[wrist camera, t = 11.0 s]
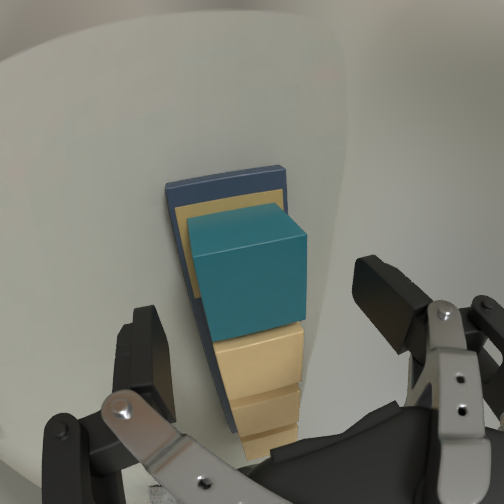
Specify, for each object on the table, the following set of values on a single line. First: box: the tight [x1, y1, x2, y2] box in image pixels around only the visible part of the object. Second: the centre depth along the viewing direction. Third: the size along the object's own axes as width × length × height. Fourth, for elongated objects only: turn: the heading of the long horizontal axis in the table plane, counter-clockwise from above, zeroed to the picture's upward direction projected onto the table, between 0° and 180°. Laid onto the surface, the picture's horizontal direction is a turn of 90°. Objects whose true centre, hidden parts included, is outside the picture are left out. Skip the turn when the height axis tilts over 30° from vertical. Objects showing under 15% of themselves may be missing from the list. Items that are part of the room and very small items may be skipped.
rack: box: [165, 165, 304, 460], centre depth 18 cm, size 24×6×5 cm, turn 5°
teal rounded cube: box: [187, 203, 307, 342], centre depth 14 cm, size 4×4×4 cm
